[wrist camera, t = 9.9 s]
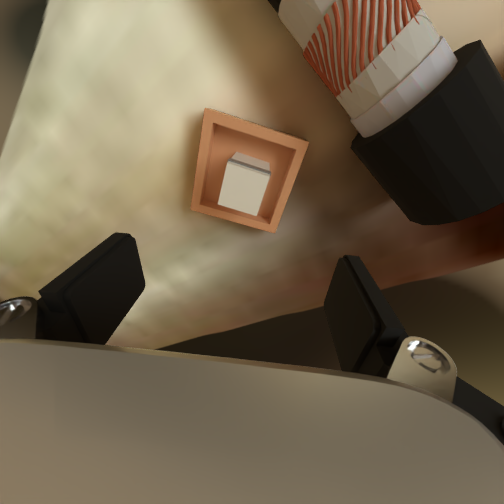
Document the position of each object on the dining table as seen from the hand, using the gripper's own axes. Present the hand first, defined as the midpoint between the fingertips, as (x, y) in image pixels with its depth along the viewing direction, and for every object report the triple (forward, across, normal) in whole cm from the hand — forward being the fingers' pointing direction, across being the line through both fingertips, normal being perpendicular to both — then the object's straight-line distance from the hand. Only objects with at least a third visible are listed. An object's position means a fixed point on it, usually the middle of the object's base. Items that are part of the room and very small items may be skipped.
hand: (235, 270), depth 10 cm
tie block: (+19, +1, 0) cm, 19 cm away
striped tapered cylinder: (+20, -7, -12) cm, 25 cm away
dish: (+20, +1, 0) cm, 20 cm away
